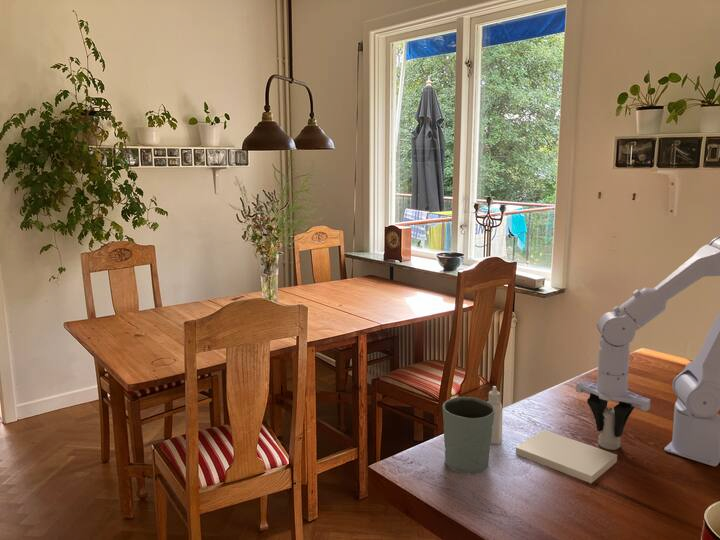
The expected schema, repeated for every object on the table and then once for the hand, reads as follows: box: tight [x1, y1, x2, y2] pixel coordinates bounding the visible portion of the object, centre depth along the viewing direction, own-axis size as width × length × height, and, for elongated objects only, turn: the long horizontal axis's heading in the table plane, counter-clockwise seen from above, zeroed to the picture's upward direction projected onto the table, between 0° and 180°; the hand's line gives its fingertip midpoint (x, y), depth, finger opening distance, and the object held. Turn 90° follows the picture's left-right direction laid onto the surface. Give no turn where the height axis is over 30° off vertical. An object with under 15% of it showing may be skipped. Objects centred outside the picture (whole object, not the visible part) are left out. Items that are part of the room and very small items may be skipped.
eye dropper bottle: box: [488, 385, 503, 445], centre depth 125 cm, size 4×6×12 cm
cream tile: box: [515, 429, 618, 484], centre depth 118 cm, size 16×11×2 cm
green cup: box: [442, 396, 495, 474], centre depth 116 cm, size 10×10×12 cm
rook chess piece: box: [597, 407, 622, 451], centre depth 121 cm, size 4×4×8 cm
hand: (609, 432), depth 122 cm, fingers closed on rook chess piece, 3 cm apart
